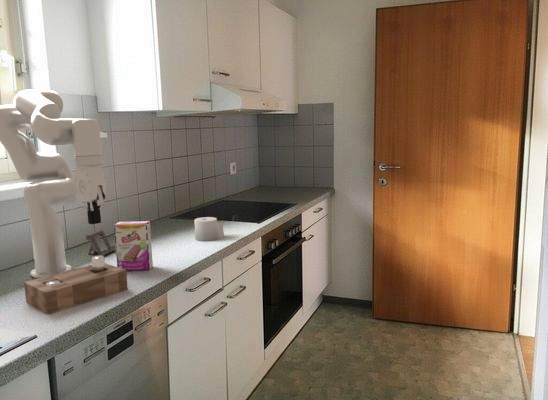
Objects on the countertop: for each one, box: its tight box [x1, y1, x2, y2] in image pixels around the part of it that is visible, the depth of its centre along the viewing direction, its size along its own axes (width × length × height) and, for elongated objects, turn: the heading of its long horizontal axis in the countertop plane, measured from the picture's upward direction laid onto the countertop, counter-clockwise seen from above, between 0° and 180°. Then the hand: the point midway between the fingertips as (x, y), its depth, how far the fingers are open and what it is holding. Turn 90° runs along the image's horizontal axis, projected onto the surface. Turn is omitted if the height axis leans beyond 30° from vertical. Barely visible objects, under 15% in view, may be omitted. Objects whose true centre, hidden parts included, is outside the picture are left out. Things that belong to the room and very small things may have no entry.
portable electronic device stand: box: [85, 229, 116, 257], centre depth 187 cm, size 9×8×8 cm
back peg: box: [91, 255, 106, 273], centre depth 146 cm, size 4×4×6 cm
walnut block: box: [23, 262, 128, 315], centre depth 141 cm, size 14×24×6 cm, turn 139°
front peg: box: [46, 280, 60, 286], centre depth 136 cm, size 4×4×6 cm
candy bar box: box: [113, 220, 154, 272], centre depth 165 cm, size 11×5×16 cm, turn 92°
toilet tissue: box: [193, 216, 225, 243], centre depth 207 cm, size 9×13×9 cm
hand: (94, 223), depth 143 cm, fingers closed
